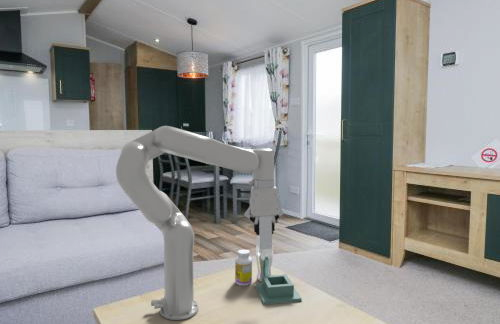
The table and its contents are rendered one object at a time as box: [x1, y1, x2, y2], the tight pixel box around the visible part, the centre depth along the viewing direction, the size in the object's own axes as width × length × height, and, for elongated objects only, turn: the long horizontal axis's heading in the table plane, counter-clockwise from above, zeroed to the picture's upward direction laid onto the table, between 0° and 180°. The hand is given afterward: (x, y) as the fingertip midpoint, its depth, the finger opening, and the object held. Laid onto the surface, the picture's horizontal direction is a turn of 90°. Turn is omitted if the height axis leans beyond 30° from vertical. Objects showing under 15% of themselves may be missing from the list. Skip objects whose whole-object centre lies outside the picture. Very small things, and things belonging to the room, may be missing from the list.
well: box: [254, 273, 303, 305], centre depth 134 cm, size 14×14×5 cm
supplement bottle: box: [234, 249, 253, 287], centre depth 142 cm, size 7×7×13 cm
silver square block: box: [256, 216, 273, 250], centre depth 129 cm, size 4×4×13 cm
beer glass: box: [255, 242, 274, 283], centre depth 145 cm, size 7×7×15 cm
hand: (264, 233), depth 129 cm, fingers closed on silver square block, 4 cm apart
